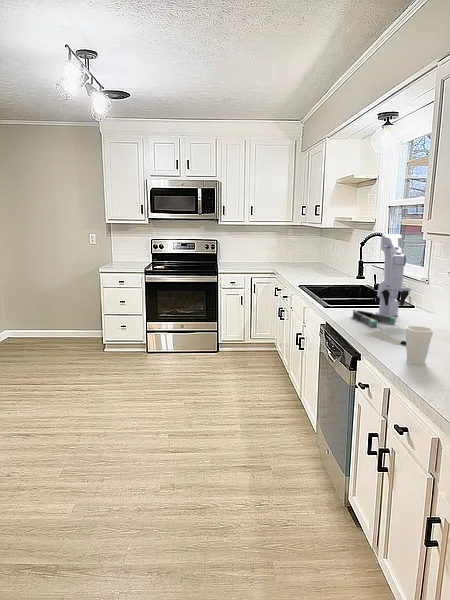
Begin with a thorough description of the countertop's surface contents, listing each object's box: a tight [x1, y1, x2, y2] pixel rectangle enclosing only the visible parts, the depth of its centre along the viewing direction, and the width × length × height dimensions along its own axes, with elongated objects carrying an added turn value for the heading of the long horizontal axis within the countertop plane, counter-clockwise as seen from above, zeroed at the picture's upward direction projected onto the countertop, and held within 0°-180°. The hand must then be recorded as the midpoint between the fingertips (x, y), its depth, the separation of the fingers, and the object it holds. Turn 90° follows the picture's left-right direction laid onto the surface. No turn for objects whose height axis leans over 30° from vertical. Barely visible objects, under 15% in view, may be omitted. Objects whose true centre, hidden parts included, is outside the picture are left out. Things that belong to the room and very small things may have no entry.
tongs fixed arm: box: [352, 312, 378, 328], centre depth 235 cm, size 19×3×3 cm, turn 15°
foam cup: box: [405, 325, 434, 365], centre depth 174 cm, size 10×9×13 cm
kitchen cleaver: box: [365, 330, 406, 347], centre depth 201 cm, size 31×2×10 cm
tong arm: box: [352, 309, 397, 325], centre depth 240 cm, size 22×4×3 cm, turn 45°
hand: (393, 305), depth 233 cm, fingers open, 7 cm apart
